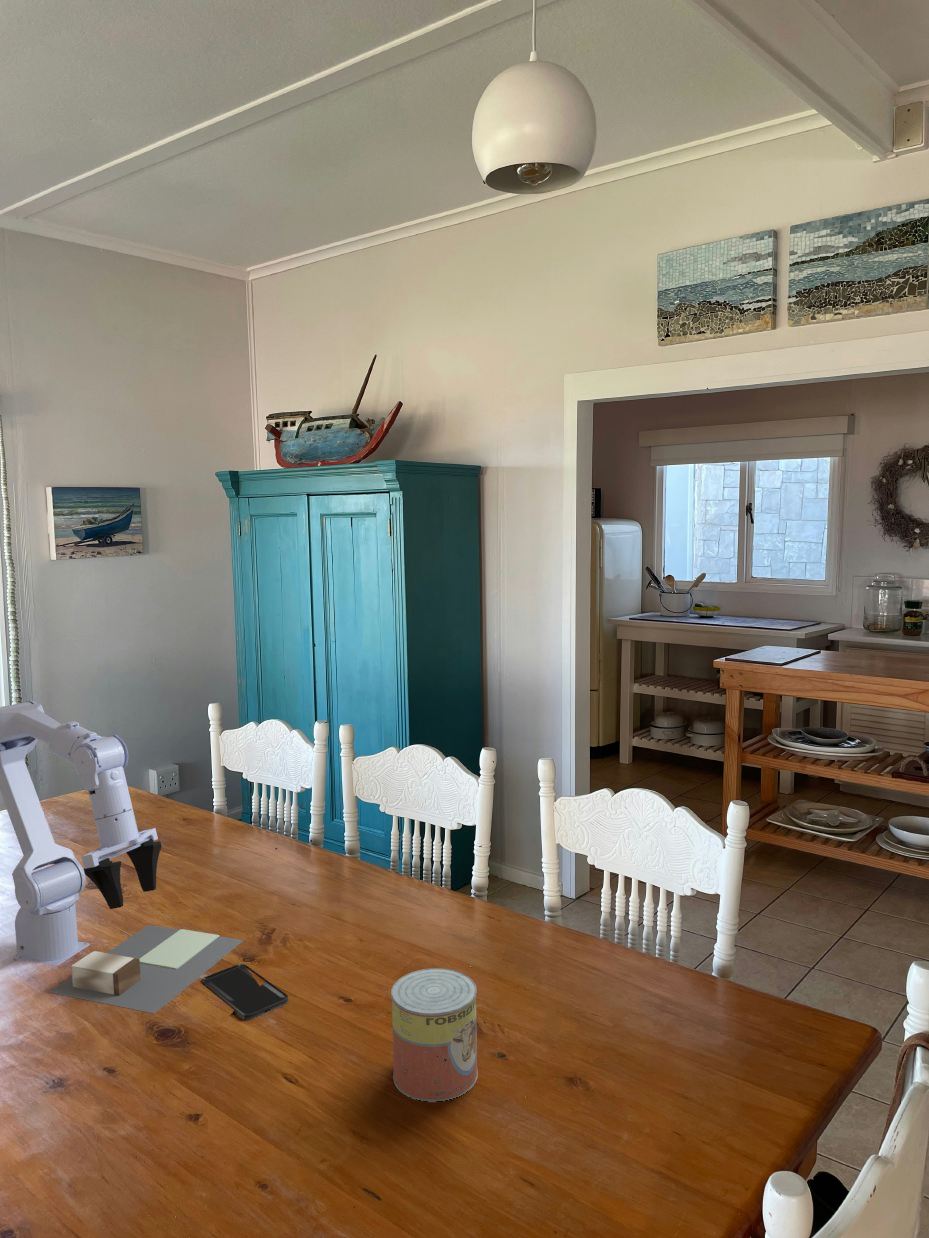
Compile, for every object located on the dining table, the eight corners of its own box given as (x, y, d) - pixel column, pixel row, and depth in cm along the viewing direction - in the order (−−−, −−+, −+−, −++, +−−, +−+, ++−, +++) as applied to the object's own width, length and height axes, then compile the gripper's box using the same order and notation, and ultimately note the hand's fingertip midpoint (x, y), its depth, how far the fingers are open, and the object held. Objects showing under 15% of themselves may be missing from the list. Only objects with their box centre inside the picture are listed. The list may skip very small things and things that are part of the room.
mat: (48, 995, 139) (48, 991, 139) (149, 927, 162) (148, 924, 162) (154, 1017, 133) (154, 1013, 133) (243, 943, 156) (243, 940, 155)
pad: (176, 969, 146) (176, 968, 146) (136, 961, 148) (136, 960, 148) (219, 936, 157) (219, 935, 157) (181, 929, 160) (181, 928, 160)
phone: (242, 962, 148) (291, 997, 137) (242, 968, 148) (291, 1004, 137) (198, 979, 142) (244, 1017, 131) (198, 986, 142) (245, 1024, 131)
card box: (72, 986, 141) (71, 965, 141) (95, 971, 146) (93, 950, 145) (119, 995, 138) (118, 974, 138) (140, 979, 143) (139, 958, 142)
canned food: (447, 1113, 111) (446, 1023, 109) (376, 1083, 117) (373, 997, 115) (493, 1065, 120) (492, 981, 119) (424, 1040, 126) (423, 960, 125)
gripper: (100, 822, 131) (121, 912, 131) (164, 798, 145) (183, 879, 144) (64, 829, 133) (84, 918, 133) (130, 805, 147) (148, 885, 147)
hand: (133, 898), depth 139 cm, fingers open, 7 cm apart
